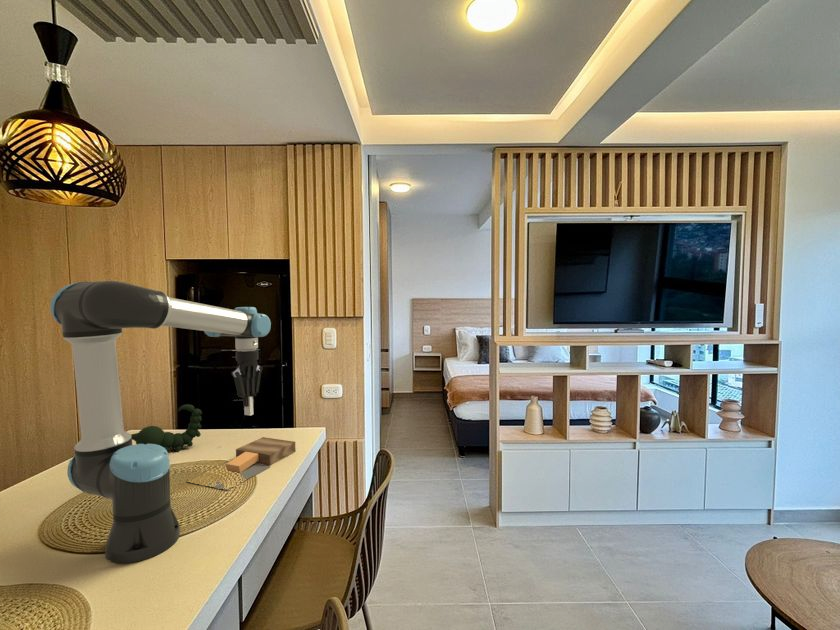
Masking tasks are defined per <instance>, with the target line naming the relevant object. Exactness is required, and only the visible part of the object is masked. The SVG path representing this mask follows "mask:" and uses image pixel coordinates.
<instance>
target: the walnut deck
mask: <svg viewBox="0 0 840 630" xmlns="http://www.w3.org/2000/svg"><path fill="white" fill-rule="evenodd" d="M296 449H297V448H296V441H293V440H285V439H280V438H271V437H264V436H263V437H261V438H258V439H255V440H254V441H251V442H249V443H247V444H245V445H242V446H240V447H238V448H236V449H235V458H236V457H238V456H239V455H241V454H242V453H244V452H251V453H257V454H258V455H259V461H257V462H256V463H255V464H259V465H265V466H270V467H271V466H272V465H275V464H276V463H278V462H280V461H281V460H283V459H285V458H288V457H289V456H291V455H292V454H295V453H296Z"/></svg>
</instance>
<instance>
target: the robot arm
mask: <svg viewBox="0 0 840 630" xmlns="http://www.w3.org/2000/svg"><path fill="white" fill-rule="evenodd" d="M49 310H50V313H51V316H52V318H53V319H54V321H56V323H58V324H59V325H61V331H62V338H63V340H65V341H66V342H68V343H69V344H71V348H72V356H73V365H74V366H73V367H74V377H75V386H76V396H77V405H78V406H77V407H78V415H79V425H80V435H81V439H79V441H78V442H76V443H77V444H75V445H74V454H73V457H72V459H70V460H69V463H68V465H67V477H68V480H69V482H70V483H71V484H72V486H73V487H74V488H76V489H78V490H79V491H81V492H83V493H86V494H91V495H96V496H98V497H99V496H100V497H102V498H106V499H110V500H111V501H112V503H111V505H112V522H111V523H112V524H111V526H110V530H109V532H108V535H107V539H106V543H105V546H104V553H105V555H104V556H105V559H106V560H107V561H108V562H109V563H110V562H111V563H113V564H131V563H135V562H136V563H137V562H140V561H143V560H147V559H149V558H151V557H155V556H157V555H159V554H161V553H162V552H165V551H166V550H168V549H169V548H171V547H172V546H174V545H175V543H176V542H177V541H178V540H179V539H180V536H181V529H180V527H181V526H180V523H179V521H178V519H177V516H176V515H175V513H174V510H173V508H172V506H171V483H170V477H171V476H170V467H171V464H170V459H169V453H168V452H169V451H168V452H167V450H166V449H165V448H164V447H162V446H160V445H156V444H136V443H135V444H133V440H132V436H131V433H129V432H127V431H126V430H125V429H124V428H125V427H124V418H123V417H124V416H123V407H122V397H121V395H122V394H121V385H120V376H119V373H120V372H119V364H118V362H119V361H118V353H117V340H118V338H119V337H120V336H121V335H122V334H123V329H132V328H133V329H134V328H136V329H137V328H138V329H139V328H141V329H143V328H144V329H159V328H160V327H169V328H177V329H178V328H179V329H185V330H186V329H187V330H195V331H202V332H203V333H204V334H205V335H207V337H214V338H219V337H234V338H235V339H234V340H235V343H234V344H235V350H236V351H235V361H236V362H237V365H236V369H235V370H234V371H231V373H230V375H231V376H232V378H233V381H234V384H235V385H234V386H235V388H236V394H237V397H239V398H242V405H243V407H244V408H243V410H244V416H253V415H254V405H255V397H257V394H258V393H259V392H260V391H259V390H260V385H261V377H262V373H263V370H264V367H263V366H261V365H259V363H258V360H259V350H258V349H259V338H262V337H263V338H264V337H266V336H268V334H269V333H270V332H271V328H272V327H271V325H272V322H271V319H270V318H269V316H268V315H267V314H264V313H258V310H257V308H256V307H254V306H239V307H235V308H234V309H230V308H228V307H227V308H225V307H221V306H215V305H210V304H205V303H200V302H195V301H190V300H184V299H179V298H175V297H169V296H168V295H167V294H166V293H165V292H164V291H160V290H156V289H151V288H148V287H145V286H144V287H143V286H139V285H136V284H131V283H127V282H123V281H119V280H118V281H117V280H103V281H101V280H99V281H97V280H96V281H87V280H84V281H77V282H73V283H70V284H67V285H65V286H63V287H61V288H60V289H59V290H57V291H56V292H55V294H54V295H53V297H52V298H51V301H50V307H49Z"/></svg>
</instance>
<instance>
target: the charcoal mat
mask: <svg viewBox="0 0 840 630" xmlns="http://www.w3.org/2000/svg"><path fill="white" fill-rule="evenodd" d="M231 460H232V459H230V460H228V461H226V462H224V463H222V464H220V465H219V466H221V465H223V464H225V463H226V464H227V463H228V462H230V461H231ZM270 468H271V466H269V465H263V464H257V463H254V464H253V465H251V466H250V467H248V468H247V469H245V470H244V471H242V473H240V474H241V477H242V475H243V477H244V478H245V479H246V481H248V480H249V479H248V478H250V479H252V478H253V477H252V476H254V477H255V476H257V475H259V474H262V472H264V471H267V470H268V469H270ZM246 477H247V478H246ZM251 477H252V478H251ZM216 478H217V477H216ZM242 479H243V478H242ZM247 479H248V480H247ZM220 480H221V479H220ZM215 481H216V480H215ZM217 481H218V480H217ZM242 481H243V480H242ZM219 483H220V482H216V484H219ZM211 484H212V483H211ZM211 484H210V483H209V485H211ZM213 487H214V486H213ZM221 487H222V488H221ZM215 488H219V489H218V490H220V489H223V483H222V484H221V485H220V484H219V485H218V486H217V485H216V486H215ZM215 488H214V489H215ZM229 489H230V488H229ZM229 489H225V488H224V489H223V490H222V491H224V490H228V491H230V490H231V489H230V490H229Z"/></svg>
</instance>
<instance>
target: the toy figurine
mask: <svg viewBox="0 0 840 630" xmlns="http://www.w3.org/2000/svg"><path fill="white" fill-rule="evenodd" d="M183 410H186V411H188V412H191V416H190V418H189V421H190V422H189V423H188V427H187V428H186V429H185V431H184V432H181V433H180V432H178V433H173V432H171V431H164V430H163V429H162V428H161V427H160V426H157V425H149V426H146V427H143V428H142V429H141V430H139V431H138V432H136V433H132V434H131V433H130V434H131V436H132V441H134V442H135V444H156V445H160V446H162V447H164V448H165V449H166V450H167V452H169V451H170V450H171V449H173V450H175V451H176V452H181V450H182V448H183V447H184V446H186V445H187V447H192V446H193V439H194V438H196V437H197V438H200V436H201V432H200V431H199V429H201V428H202V424H201V423H200V422H201V421H202V420H203V419H202V416H201V415H202V414H203V412H202V410H201V409H200V408H195V406H194V405H192V404H187V403H186V404H183V405H181V406H179V408H178V409H177V412H180V411H183Z"/></svg>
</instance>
